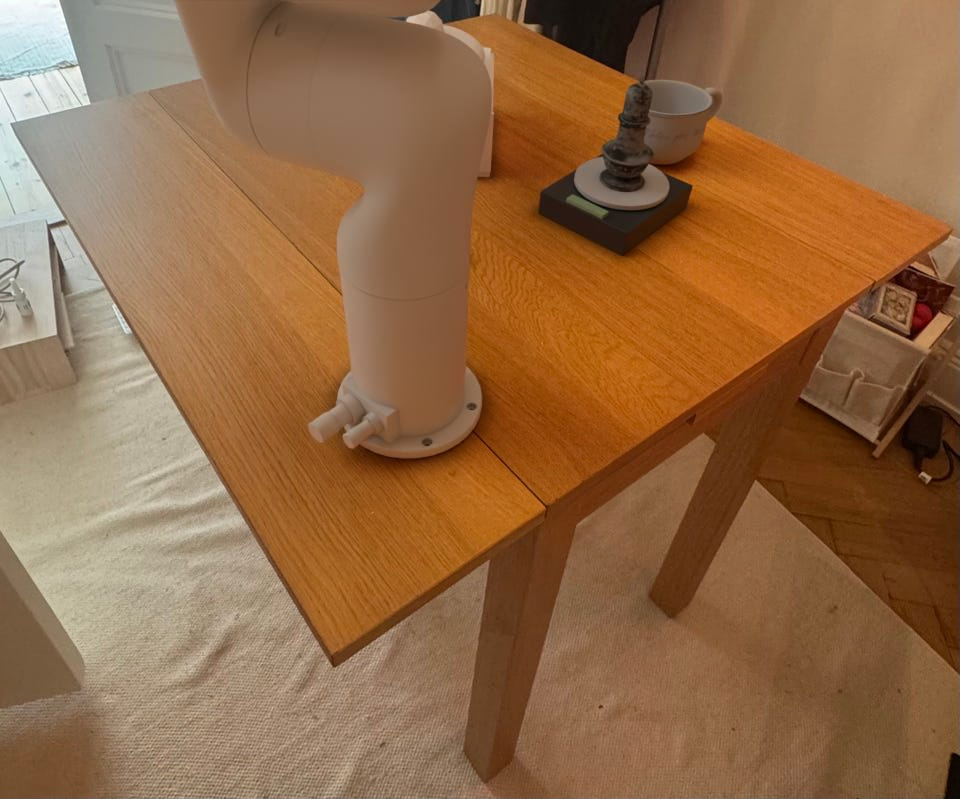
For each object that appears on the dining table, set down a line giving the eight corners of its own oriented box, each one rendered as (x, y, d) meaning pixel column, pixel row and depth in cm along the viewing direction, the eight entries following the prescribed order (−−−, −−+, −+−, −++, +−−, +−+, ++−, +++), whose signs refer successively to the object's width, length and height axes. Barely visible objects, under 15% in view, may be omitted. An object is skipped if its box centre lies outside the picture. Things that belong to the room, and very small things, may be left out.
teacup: (635, 178, 93) (648, 117, 87) (603, 137, 100) (613, 78, 94) (733, 167, 96) (752, 107, 90) (695, 128, 103) (710, 70, 97)
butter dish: (490, 177, 92) (497, 45, 80) (346, 170, 91) (332, 37, 80) (491, 112, 103) (498, -11, 92) (364, 105, 103) (354, -18, 92)
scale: (622, 256, 81) (628, 227, 78) (537, 213, 86) (541, 184, 84) (686, 207, 89) (694, 179, 86) (605, 170, 94) (610, 142, 91)
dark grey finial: (645, 169, 87) (669, 66, 78) (648, 195, 83) (673, 90, 74) (596, 164, 87) (614, 62, 78) (596, 191, 83) (615, 85, 74)
